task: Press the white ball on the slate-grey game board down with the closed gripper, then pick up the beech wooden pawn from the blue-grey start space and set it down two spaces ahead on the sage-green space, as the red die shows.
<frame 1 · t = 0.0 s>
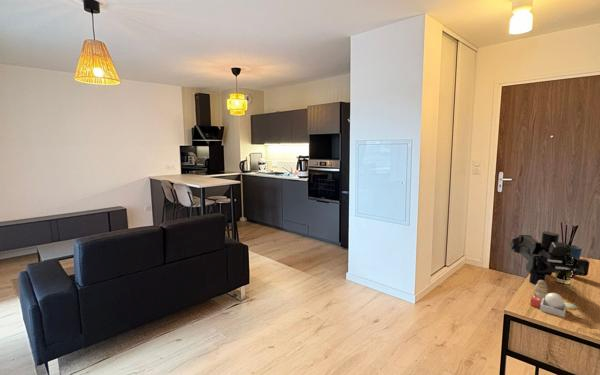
hand: (569, 273, 120), 17 cm above the table, tool horizontal, fingers open, 9 cm apart
pawn: (540, 297, 133), point 1 cm above the table, touching game board
white ball: (554, 300, 123), point 5 cm above the table, slide at 0.0 cm
cup: (568, 275, 158), on the table
red die: (534, 307, 127), resting on game board
game board: (553, 307, 127), on the table
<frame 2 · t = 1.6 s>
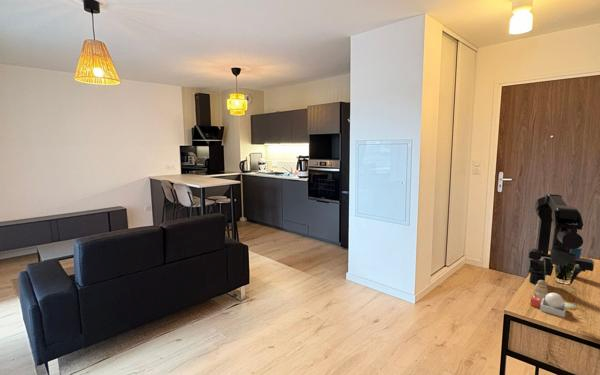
hand: (557, 280, 121), 13 cm above the table, tool pointing down, fingers open, 8 cm apart
nothing on the table moved.
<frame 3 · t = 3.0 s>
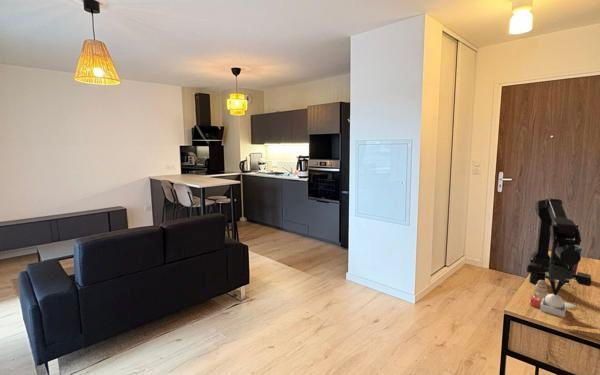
hand: (555, 294, 122), 8 cm above the table, tool pointing down, fingers closed, pressing on white ball
white ball: (554, 301, 123), point 5 cm above the table, slide at -0.4 cm, touching gripper
everything else where it was.
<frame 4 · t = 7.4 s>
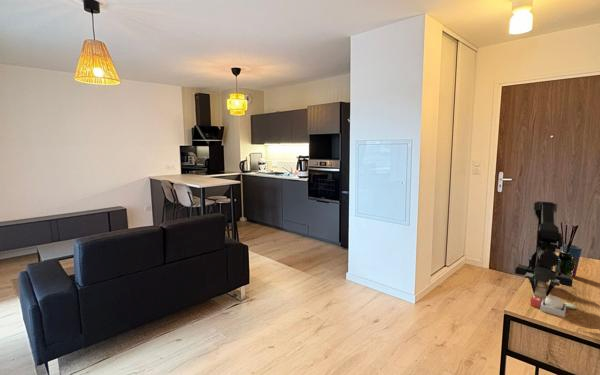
hand: (540, 294, 133), 3 cm above the table, tool pointing down, fingers closed on pawn, 4 cm apart
pawn: (540, 297, 133), point 1 cm above the table, touching game board, gripper
white ball: (553, 303, 123), point 4 cm above the table, slide at -1.2 cm
everything else where it was.
when the fingers open (4 cm above the table, at t = 11.2 s): pawn drops 1 cm, resting on game board.
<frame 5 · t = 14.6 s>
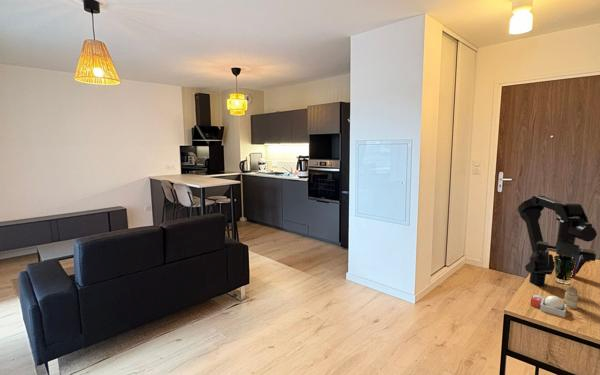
hand: (561, 270, 132), 13 cm above the table, tool pointing down, fingers open, 9 cm apart
pawn: (570, 305, 127), point 1 cm above the table, touching game board
everything else where it was.
at the end: white ball slide at -1.2 cm; pawn 0.1 cm from the target spot, point 1.2 cm above the table; pawn tilted 0° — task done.
